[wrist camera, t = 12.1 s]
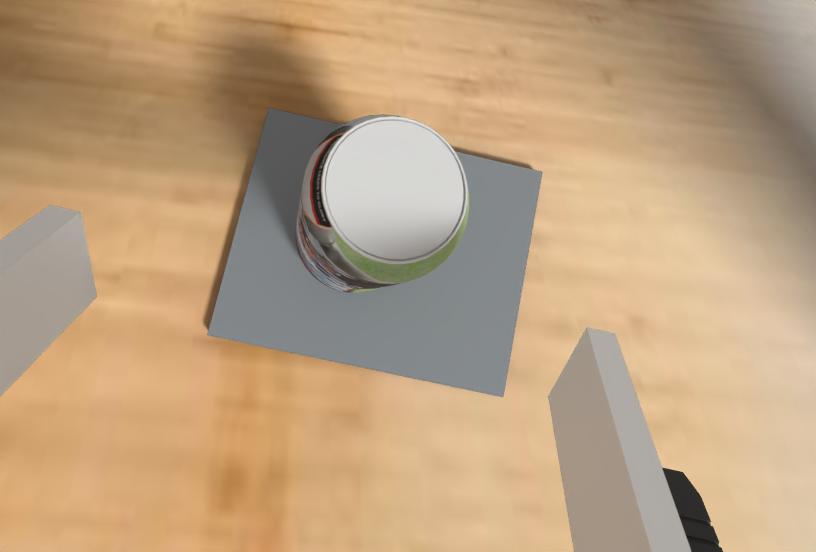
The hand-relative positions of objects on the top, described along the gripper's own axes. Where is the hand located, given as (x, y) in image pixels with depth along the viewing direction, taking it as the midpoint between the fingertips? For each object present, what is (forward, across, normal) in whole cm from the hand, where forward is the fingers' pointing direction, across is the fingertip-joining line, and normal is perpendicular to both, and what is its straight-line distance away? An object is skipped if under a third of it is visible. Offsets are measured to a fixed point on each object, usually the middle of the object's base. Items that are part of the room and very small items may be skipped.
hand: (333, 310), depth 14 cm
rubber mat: (+14, +1, -7) cm, 16 cm away
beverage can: (+13, 0, -7) cm, 15 cm away
